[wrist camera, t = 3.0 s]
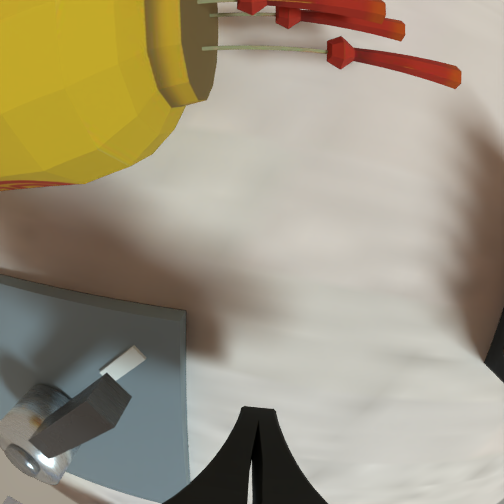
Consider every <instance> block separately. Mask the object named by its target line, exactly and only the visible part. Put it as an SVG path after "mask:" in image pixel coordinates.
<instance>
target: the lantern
mask: <svg viewBox="0 0 504 504" xmlns="http://www.w3.org/2000/svg"><path fill="white" fill-rule="evenodd" d="M217 2H237V9H239V10H241V11H243V12H246V13H218V8H217ZM267 5H268V6H276V13H257V12H258V11H260V10H261V9H262V8H264V7H265V6H267ZM300 9H307V10H300ZM224 16H276V23H277V24H279V25H281V26H283V27H285V28H287V29H289V28H291V27H292V26H294V25H295V24H297V23H298V22H300V21H304V22H311V23H318V24H325V25H331V26H337V27H342V28H347V29H352V30H357V31H362V32H366V33H371V34H375V35H379V36H383V37H387V38H390V39H394V40H398V41H402V39H403V38H404V36H405V24H404V23H403V22H402V21H399V20H394V19H388V18H385V16H386V7H385V3H384V2H383V1H382V0H0V191H5V190H14V189H24V188H35V187H46V186H59V185H74V184H86V183H88V182H91V181H93V180H96V179H98V178H101V177H103V176H106V175H109V174H111V173H114V172H116V171H119V170H122V169H125V168H127V167H130V166H132V165H133V164H135V163H137V162H139V161H141V160H142V159H144V158H146V157H148V156H150V155H152V154H153V153H154V152H155V151H156V149H157V148H158V147H159V146H160V145H161V144H162V143H163V142H164V140H165V139H166V138H167V137H168V136H169V135H170V134H171V133H172V131H173V130H174V129H175V127H176V125H177V123H178V121H179V119H180V117H181V115H182V113H183V111H184V109H185V107H186V105H189V104H193V103H197V102H201V101H205V100H207V98H208V96H209V93H210V91H211V89H212V86H213V81H214V75H215V69H216V63H217V50H232V49H261V50H288V51H303V52H315V53H325V54H327V62H329V63H331V64H332V65H334V66H335V67H337V68H339V69H342V68H343V67H345V66H346V65H348V64H349V63H351V62H352V61H356V62H361V63H365V64H370V65H375V66H379V67H383V68H387V69H391V70H395V71H399V72H403V73H406V74H410V75H413V76H417V77H420V78H424V79H427V80H430V81H433V82H436V83H439V84H442V85H445V86H448V87H451V88H454V89H456V88H457V87H458V86H459V85H460V84H461V71H460V70H459V69H458V68H457V67H456V66H453V65H450V64H446V63H441V62H437V61H433V60H428V59H423V58H419V57H413V56H408V55H402V54H397V53H390V52H384V51H376V50H369V49H360V48H353V47H352V46H351V45H350V44H349V43H348V42H347V41H346V40H345V39H344V38H343V37H341V36H340V37H337V38H334V39H331V40H329V41H327V50H320V49H310V48H298V47H281V46H218V17H224Z"/></svg>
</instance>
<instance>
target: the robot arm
mask: <svg viewBox="0 0 504 504" xmlns="http://www.w3.org/2000/svg"><path fill="white" fill-rule="evenodd" d="M251 461H252V491H253V504H328V503H327V502H326V501H325V500H324V499H323V498H322V497H321V496H320V494H319V493H318V492H317V491H316V490H315V489H314V488H313V486H312V485H311V484H310V482H309V481H308V480H307V478H306V477H305V475H304V474H303V473H302V471H301V469H300V468H299V466H298V465H297V463H296V461H295V459H294V457H293V456H292V454H291V452H290V450H289V448H288V445H287V443H286V441H285V439H284V436H283V434H282V431H281V428H280V426H279V422H278V419H277V415H276V411H275V410H274V409H267V408H257V407H247V406H244V407H242V408H241V411H240V414H239V417H238V420H237V422H236V424H235V426H234V428H233V430H232V432H231V433H230V435H229V437H228V439H227V440H226V442H225V443H224V445H223V446H222V448H221V449H220V450H219V452H218V453H217V455H216V456H215V457H214V458H213V460H212V461H211V462H210V463H209V464H208V465H207V467H206V468H205V469H204V470H203V471H202V472H201V473H200V474H199V475H198V476H197V477H196V478H195V479H194V480H193V481H192V482H190V483H189V484H188V485H187V486H186V487H184V488H183V489H182V490H181V491H179V492H178V493H177V494H176V495H174V496H173V497H171V498H170V499H168V500H167V501H165V502H164V503H162V504H247V498H248V483H249V470H250V465H251ZM3 504H21V503H20V502H18V501H17V500H15V499H13V498H12V497H10V496H7V498H6V499H5V501H4V502H3Z"/></svg>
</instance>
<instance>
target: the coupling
mask: <svg viewBox="0 0 504 504" xmlns="http://www.w3.org/2000/svg"><path fill="white" fill-rule="evenodd" d="M131 398H132V396H131V395H130V394H129V393H127V392H126V391H125V390H124V389H123V388H122V387H121V386H120V385H119V384H118V383H117V382H116V381H115V380H114V379H113V378H112V377H111V376H110V375H109V374H108V373H105V374H104V375H103V376H101V377H100V378H99V379H97V380H96V381H95V382H93V383H92V384H91V385H89V386H88V387H87V388H85V389H84V390H83V391H81V392H80V393H79V394H78V395H76V396H75V397H74V398H72V399H71V400H69V399H67V398H66V397H65V396H64V395H62V394H61V393H59V392H58V391H56V390H54V389H53V388H50V387H48V386H45V385H34V386H33V387H31V388H30V390H29V391H28V392H27V393H26V394H25V395H24V396H23V397H22V398H21V399H20V400H19V401H18V402H17V403H16V404H15V406H14V407H13V408H12V409H11V410H10V411H9V412H8V413H7V414H6V415H5V416H4V418H3V419H2V420H1V421H0V447H1V448H2V450H3V451H4V452H5V454H6V456H7V457H8V459H9V460H10V461H11V462H12V464H14V465H15V466H16V467H17V468H18V469H19V470H20V471H22V472H23V473H25V474H27V475H28V476H31V477H34V478H36V479H37V480H39V481H41V482H44V483H47V484H50V485H56V484H58V483H59V481H60V479H61V478H62V476H63V474H64V473H65V471H66V469H67V468H68V466H69V464H70V463H71V461H72V460H73V458H74V456H75V455H76V453H77V451H78V450H79V448H80V446H81V445H82V444H83V443H85V442H87V441H89V440H91V439H93V438H95V437H97V436H99V435H101V434H103V433H105V432H107V431H109V430H111V429H113V428H115V426H116V424H117V423H118V421H119V419H120V417H121V416H122V414H123V412H124V410H125V409H126V407H127V405H128V403H129V401H130V400H131Z"/></svg>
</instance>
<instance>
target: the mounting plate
mask: <svg viewBox="0 0 504 504" xmlns="http://www.w3.org/2000/svg"><path fill="white" fill-rule="evenodd" d="M105 373H108V374H109V375H110V376H111V377H112V378H113V379H114V380H115V381H116V382H117V383H118V384H119V385H120V386H121V387H122V388H123V389H124V390H125V391H126V392H127V393H129V394H130V395H131V396H132V398H131V400H130V401H129V403H128V405H127V407H126V409H125V410H124V412H123V414H122V416H121V417H120V419H119V421H118V423H117V424H116V426H115V428H113V429H111V430H109V431H107V432H105V433H103V434H101V435H99V436H97V437H95V438H93V439H91V440H89V441H87V442H85V443H83V444H82V445H81V446H80V448H79V450H78V451H77V453H76V455H75V456H74V458H73V460H72V461H71V463H70V464H69V466H68V468H67V469H66V472H68V473H71V474H73V475H75V476H78V477H80V478H83V479H85V480H88V481H91V482H93V483H96V484H99V485H101V486H104V487H107V488H110V489H113V490H116V491H119V492H122V493H126V494H129V495H132V496H136V497H139V498H143V499H146V500H150V501H154V502H158V503H164V502H165V501H167V500H168V499H170V498H171V497H173V496H174V495H176V494H177V493H178V492H179V491H181V490H182V489H183V488H184V487H186V486H187V485H188V484H189V483H190V470H189V454H188V433H187V404H186V311H185V310H178V309H171V308H165V307H158V306H152V305H146V304H140V303H134V302H128V301H123V300H117V299H112V298H106V297H101V296H96V295H91V294H85V293H81V292H76V291H71V290H66V289H61V288H57V287H52V286H47V285H43V284H39V283H34V282H30V281H26V280H21V279H17V278H13V277H9V276H5V275H1V274H0V421H1V420H2V419H3V418H4V416H5V415H6V414H7V413H8V412H9V411H10V410H11V409H12V408H13V407H14V406H15V404H16V403H17V402H18V401H19V400H20V399H21V398H22V397H23V396H24V395H25V394H26V393H27V392H28V391H29V390H30V388H31V387H33V386H34V385H45V386H48V387H50V388H53V389H54V390H56V391H58V392H59V393H61V394H62V395H64V396H65V397H66V398H67V399H69V400H71V399H72V398H74V397H75V396H76V395H78V394H79V393H80V392H81V391H83V390H84V389H85V388H87V387H88V386H89V385H91V384H92V383H93V382H95V381H96V380H97V379H99V378H100V377H101V376H103V375H104V374H105Z"/></svg>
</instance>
